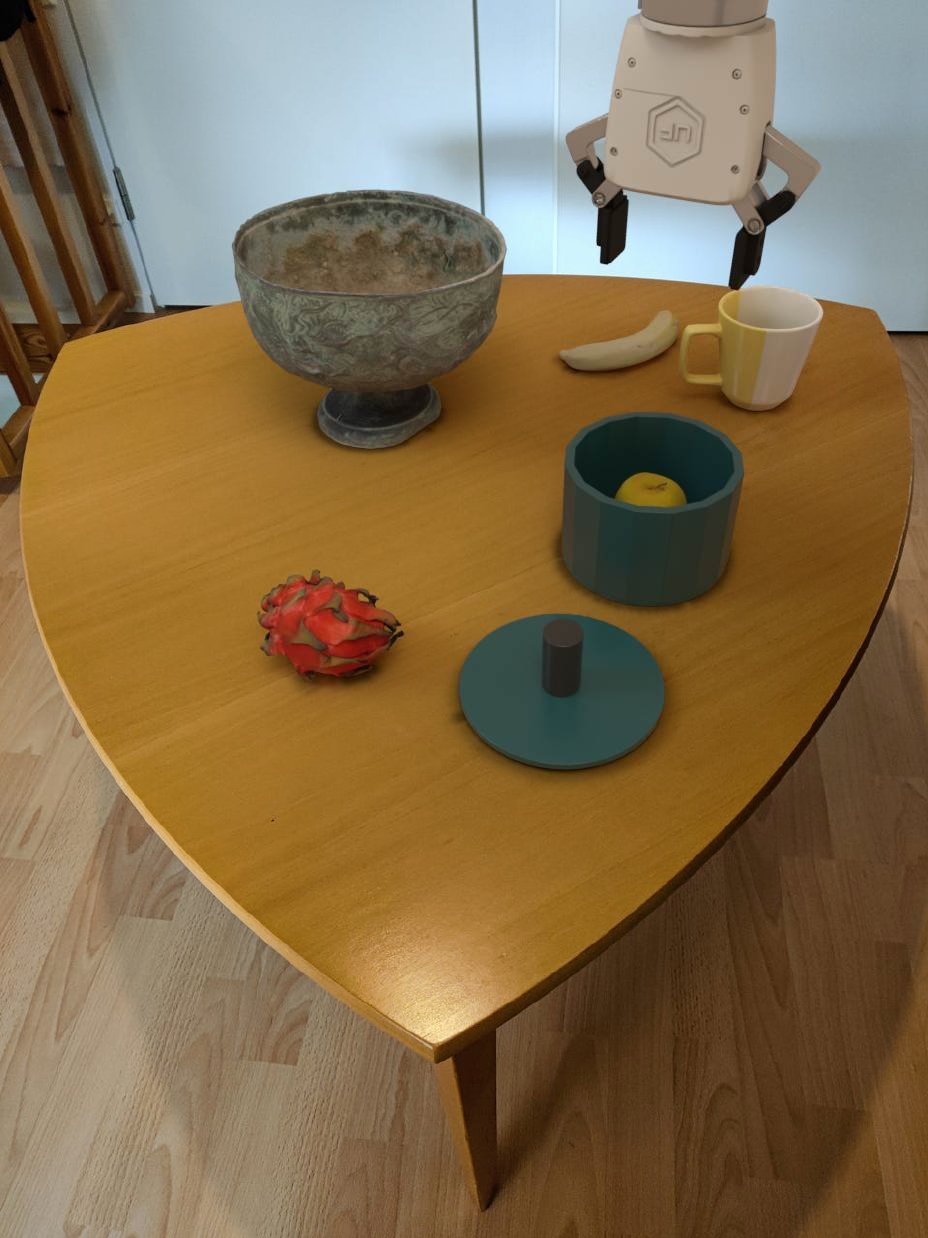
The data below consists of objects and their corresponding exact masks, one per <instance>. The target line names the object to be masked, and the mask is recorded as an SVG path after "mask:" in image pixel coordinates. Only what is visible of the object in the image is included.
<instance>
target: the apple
mask: <svg viewBox="0 0 928 1238" xmlns="http://www.w3.org/2000/svg"><path fill="white" fill-rule="evenodd" d="M615 499H616V500H620V501H623V502H626V503H630V504H633V505H637V506H655V507H675V506H680V505H685V504H687V501H686V497H685V494H684V492H683V490H682V489H681V488H680V486H679V485H678V484H677V483H675V482H674V481H672V480H671V479H669V478H666V477H664V476H660V475H657V474H653V473H646V472H645V473H639V474H636V475H633V476H632V477H630V478H628V479H627V480H626V481H625V482H624V483H623V484H622V485H621V487H620V488H619V490H618V492H617V494H616V496H615Z"/></svg>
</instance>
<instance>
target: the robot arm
mask: <svg viewBox="0 0 928 1238" xmlns="http://www.w3.org/2000/svg"><path fill="white" fill-rule="evenodd" d="M768 5H769V0H637V10H640V12H638V13H636V14H634V15H632V16H630V17H628V18H627V19H626V21H625V26H624V29H623V33H622V37H621V42H620V45H619V50H618V55H617V60H616V64H615V65H616V66H615V70H614V76H613V81H612V87H611V94H610V99H609V100H610V101H609V106H608V107H609V108H608V112H605V113H604V114H602V115H600V116H598V117H595V118H593V119H591V120H588V121H586V122H584V123H582V124H580V125H578V126H576V127H575V128H573V129H572V130H571V131H569V132H568V133H566V135H565V142H566V145H567V148H568V151H569V153H570V156H571V158H572V161H573V164H575V166H576V171H575V172H576V175H577V177H578V179H579V181H581V182H582V184H583V185H584V187H585V188H586V190H587V191H588V192H589V193H590V195H591V203H592V204H593V206H594V207H596V208H597V218H596V219H597V220H596V239H595V243H596V247H600V250H599V251H600V252H599V264H601V265H604V266H605V265H606V266H608V265H609V264H612V263H613V262H614V261H615V260H616V259H617V258H618V257H619V256H620V255H621V254H622V253H624V251H625V249H626V245H627V234H628V233H627V231H628V219H629V204H630V200H629V199H628V195H627V194H624V191H628V192H633V193H637V194H643V195H649V196H655V197H662V198H666V199H674V200H680V201H686V202H692V203H698V204H704V205H711V206H731V207H732V208H733V210H734V212H735V213H736V215H737V217H738V218H739V220H740V221H741V223H742V226H741V228H740V229H739V230H738V231H737V232H736V235H735V237H734V245H733V250H732V258H731V264H730V271H729V277H728V284H727V287H729V288H730V289H729V290H732V291H734V290H737V291H738V290H739V289H740V288H743V285H744V284H745V283H746V282H747V281H748V280H749V278H750V277H751V276H752V277H754V276H756V274H757V273H758V272H759V270H760V268H761V263H762V258H763V252H764V245H765V239H766V235H767V228H768V227H769V226H770V225H772V224H773V223H774V222H776V221H777V220H778V219H780V218H781V217H782V216H785V214H787V213H788V212H790V211H791V210H792V208H793V207H794V206H795V205H796V204H797V202H798V201H799V200H800V199H801V197H802V196H803V195H804V193H805V192H806V191H807V190H808V188H809V187H810V185H812V183H813V182H814V180H815V179H816V177H817V176H818V175H819V173H820V172H821V170H822V169H821V168H822V166H821V163H820V162H819V161H818V160H817V159H816V158H815V157H813V156H812V155H811V154H809V153H808V152H806V150H804V149H803V148H801V147H800V146H798V144H796V143H795V142H793V141H792V140H790V138H788V137H787V136H785V134H783V133H782V132H780V131H779V130H777V129H776V128H775V127H774V126H773V124H774V114H775V103H776V102H775V101H776V83H777V30H776V28H777V27H776V21H775V19H773V18H771V17H767V14H768V13H767V12H768ZM603 138H605V139H604V149H603V150H604V151H603V161H602V160H601V158H600V157H599V156H598V155H597V154H596V148H595V145H594V144H595V142H596V141H599V140H602V139H603ZM769 161H770V162H771V163H772V164H774V165H775V166H777V167H778V168H780V169H781V170H782V171H784V172H785V173H786V175H787V181H786V184H785V185H784V187H783V188H782V189H780V191H778V192H777V193H776V194H774V195H773V196H772V197H770V195H769V193H768V192H767V190H766V188H765V186H764V185H763V183H762V182H761V180H762V179H763V177H764V175H765V173H766V169H767V166H768V162H769Z"/></svg>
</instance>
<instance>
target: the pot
mask: <svg viewBox="0 0 928 1238" xmlns="http://www.w3.org/2000/svg"><path fill="white" fill-rule="evenodd" d="M563 466H564V468H563V470H564V471H563V495H562V519H561V520H562V521H561V546H560V547H561V550H560V553H561V556H562V560H563V562H564V565H565V568H566V569H567V571H568V572H569V573H570V575H571V576H572V577H573V578H574V580H575V581H577V582H578V583H579V584H580V585H581V586H582V587H584V588H585V589H586V590H588V591H590V592H592V593H593V594H595V595H597V596H600V597H602V598H605V599H607V600H609V601H613V602H616V603H618V604H619V603H620V604H624V605H630V606H637V607H665V606H671V605H676V604H677V605H678V604H681V603H685V602H688V601H690V600H693V599H695V598H698V597H699V596H701V595H703V594H705V593H706V592H708V591H709V590H711V589H712V588H713V587H714V586H715V584H717V583H718V581H719V580H720V579H721V577H722V576H723V573H724V571H725V569H726V566H727V564H728V563H729V557H730V552H731V547H732V542H733V541H732V540H733V536H734V531H735V526H736V519H737V515H738V510H739V505H740V500H741V493H742V488H743V484H744V478H745V467H744V457H743V453H742V451H741V450H740V449H739V448H738V447H737V445H736V444H735V443H734V442H733V441H732V439H731V438H730V437H729V436H728V435H727V434H726V433H724V432H722V431H721V430H719V429H717V428H715V427H714V426H712V425H709V424H708V423H706V422H704V421H702V420H700V419H696V418H692V417H688V416H684V415H680V414H676V413H672V412H659V411H658V412H657V411H632V412H626V413H621V414H616V415H609V416H606V417H603V418H601V419H599V420H597V421H594V422H593V423H590V424H589V425H587V426H584V427H583V428H581V429H580V430H579V431H577V433H576V434H575V435H574V436H573V437H572V439H571V440H570V441H569V442H568V444H567V445H566V446H565V456H564V465H563ZM645 472H646V473H653V474H657V475H660V476H664V477H666V478H669V479H671V480H672V481H674V482H675V483H677V484H678V485H679V486H680V488H681V489H682V490H683V492H684V494H685V497H686V501H687V504H685V505H680V506H675V507H655V506H637V505H633V504H630V503H626V502H623V501H620V500H616V499H615V496H616V494H617V492H618V490H619V488H620V487H621V485H622V484H623V483H624V482H625V481H626V480H627V479H628V478H630V477H632V476H633V475H636V474H639V473H645Z"/></svg>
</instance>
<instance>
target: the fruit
mask: <svg viewBox="0 0 928 1238" xmlns="http://www.w3.org/2000/svg"><path fill="white" fill-rule="evenodd" d="M679 324H680V323H679V321H678V318H677V317H676V316H675V315H674V313H673V312H671V311H670V310H668V309H663V310H660V311H659V312H658V313H656V315H655V316H654V317H653V319H652V320H651V321H650V324H648V325H647V327H645V328H644V329H642V330H640V331H638V332H636V333H634V334H631V335H628V336H624V337H621V338H616V339H611V340H607V341H602V342H601V341H600V342H594V343H587V344H582V345H579V346H575V347H573V348H572V349H561V351H560V352H559V353H558V357H559V358H560V359H561V360H563V361H564V362H565V363H566V364H567V365H568V366H569V367H570V368H573V369H575V370H578V371H586V372H587V371H588V372H589V371H593V372H594V371H598V372H599V371H612V370H619V369H623V368H628V367H632V366H636V365H640V364H643V363H645V362H647V361H649V360H652V359H654V358H655V357H657V356H659V355H660V354H662V353H664V352H665V351H667V349H669V348H670V347H671V346H672V345H673V344H674V343H675V341H676V339H677V337H678V335H679V331H680V330H679V329H680V325H679Z"/></svg>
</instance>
